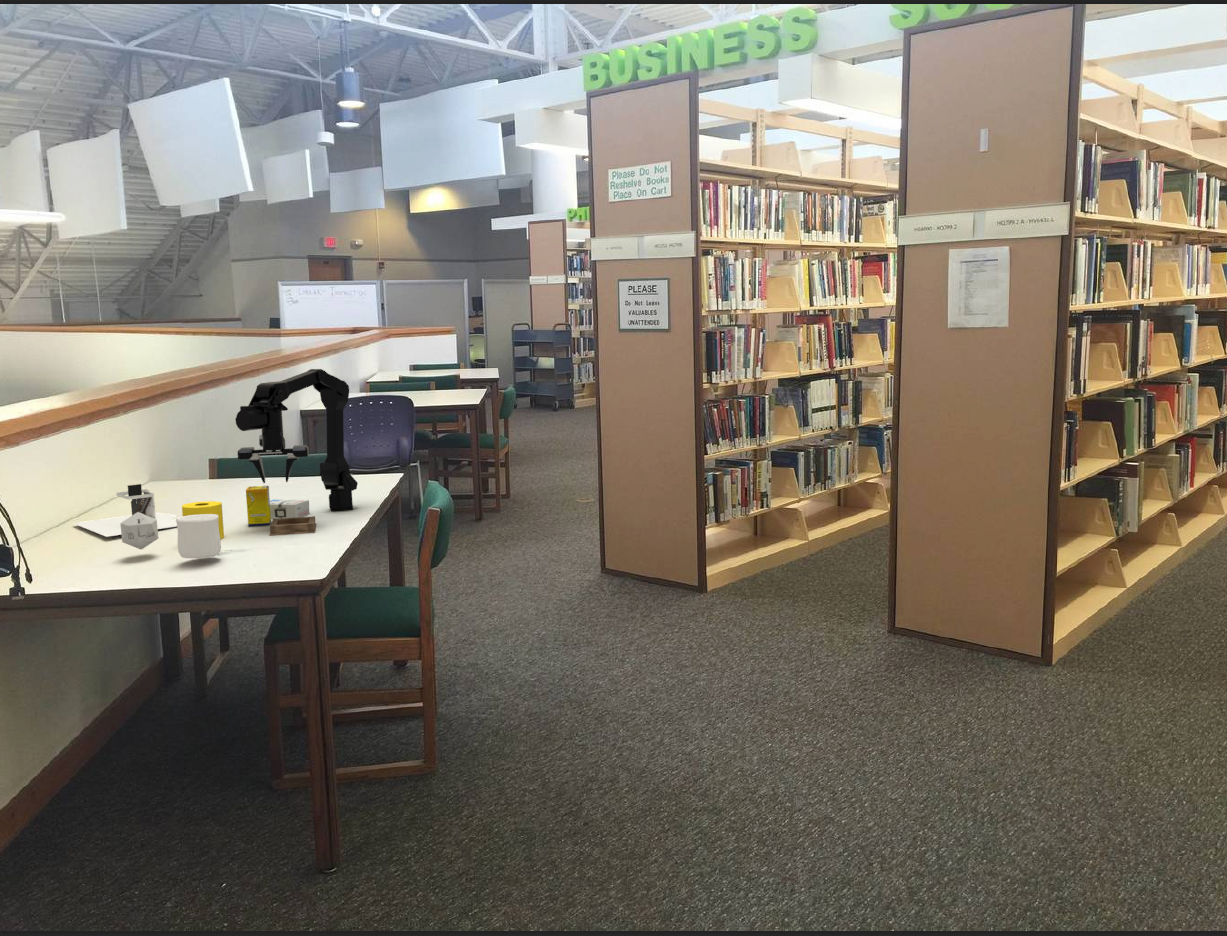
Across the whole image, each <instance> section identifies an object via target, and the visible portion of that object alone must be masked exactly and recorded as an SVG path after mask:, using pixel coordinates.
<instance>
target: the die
mask: <svg viewBox="0 0 1227 936" xmlns="http://www.w3.org/2000/svg"><path fill="white" fill-rule="evenodd" d="M131 515H132V514H131ZM120 524H121V534H122V535H121V542H122V543H124V544H125V545H129V546H130V547H133V548H136V549H138V550H144V548H146V547H148V546H149V545H151V544H152V543H154V542H155V541H157V540H158V539H160V538H159V529H158V528H157V520H156V519H154V518H151V517H149V516H147V515H144V514H142V513H139V512H137V513H135V514H134V515H132V516H131V517H129V518H128V519H126V520H125V521H123V522H122V523H120Z"/></svg>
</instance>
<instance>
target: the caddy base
mask: <svg viewBox="0 0 1227 936" xmlns="http://www.w3.org/2000/svg"><path fill="white" fill-rule="evenodd" d="M317 525H318V524H317V523H316V516H303V517H295V518H279V519H273V520H271V523H270V525H269V534H268V535H269V536H280V535H281V536H282V535H297V534H313V533H316V530H317V529H316V528H317Z"/></svg>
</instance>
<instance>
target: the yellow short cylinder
mask: <svg viewBox="0 0 1227 936" xmlns="http://www.w3.org/2000/svg"><path fill="white" fill-rule="evenodd" d="M181 510H182V511H181V512H182V516H189V515H200V514H216V515H218V516H219V517H218V526H219V534H220V540H221V539H224V538H225V531H224V518H223V504H222V502H221V501H217V500H215V501H213V500H210V501H208V500H205V501H195V502H194V501H193V502H189V503H188V502H187V503H185V504H182V505H181Z"/></svg>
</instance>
